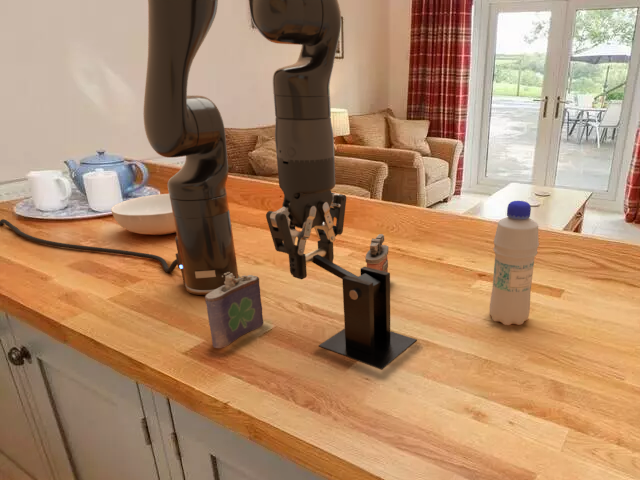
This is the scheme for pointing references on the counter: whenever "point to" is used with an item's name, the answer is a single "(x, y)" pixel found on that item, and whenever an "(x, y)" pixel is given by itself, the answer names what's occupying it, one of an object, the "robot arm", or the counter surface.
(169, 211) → the serving bowl
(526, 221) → the bottle
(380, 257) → the lighter
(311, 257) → the lever
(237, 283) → the flask
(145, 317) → the counter surface
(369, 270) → the bracket
